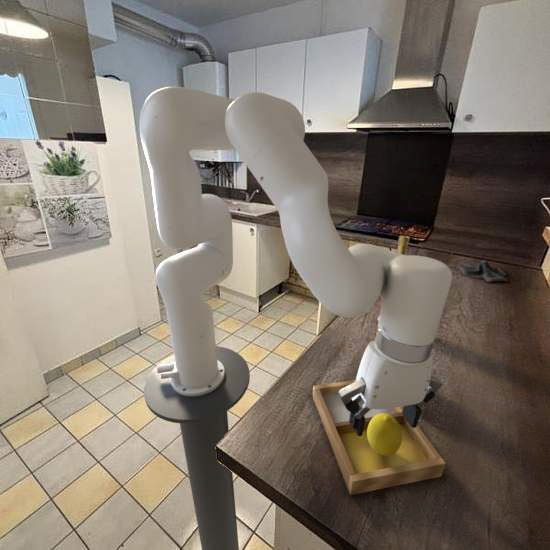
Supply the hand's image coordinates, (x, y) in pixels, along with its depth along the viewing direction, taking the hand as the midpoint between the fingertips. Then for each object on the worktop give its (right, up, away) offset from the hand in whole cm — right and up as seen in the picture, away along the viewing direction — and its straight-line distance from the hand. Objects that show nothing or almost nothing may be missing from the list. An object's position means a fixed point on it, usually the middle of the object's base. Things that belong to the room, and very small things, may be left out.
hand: (382, 424), depth 49 cm
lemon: (0, -6, +2) cm, 6 cm away
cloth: (+75, +26, +80) cm, 113 cm away
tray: (0, -5, +7) cm, 8 cm away
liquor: (+17, +10, +42) cm, 46 cm away
